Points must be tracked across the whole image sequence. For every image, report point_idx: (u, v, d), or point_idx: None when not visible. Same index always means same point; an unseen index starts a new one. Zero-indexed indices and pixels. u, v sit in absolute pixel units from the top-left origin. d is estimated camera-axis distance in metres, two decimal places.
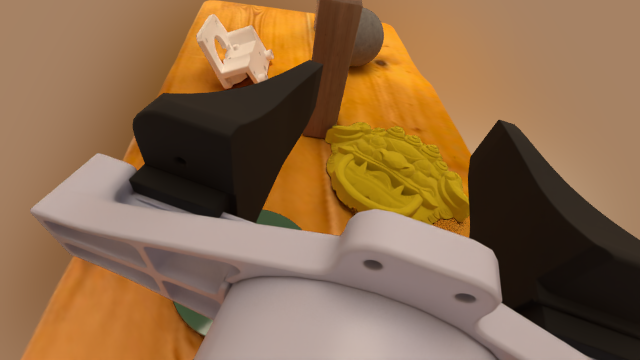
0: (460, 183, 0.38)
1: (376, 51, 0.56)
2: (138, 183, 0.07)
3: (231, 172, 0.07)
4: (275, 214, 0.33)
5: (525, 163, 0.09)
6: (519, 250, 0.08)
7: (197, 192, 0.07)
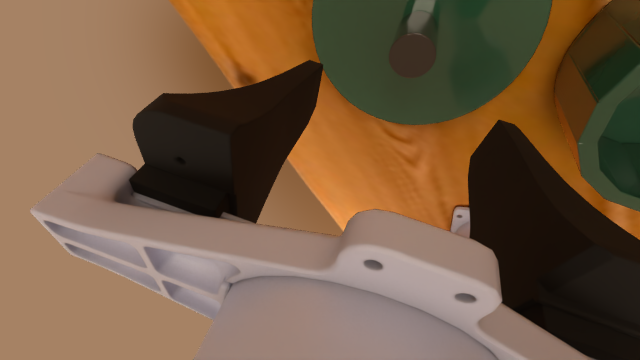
0: None
1: None
2: (138, 183, 0.07)
3: (231, 172, 0.07)
4: None
5: (525, 163, 0.09)
6: (519, 250, 0.08)
7: (197, 192, 0.07)
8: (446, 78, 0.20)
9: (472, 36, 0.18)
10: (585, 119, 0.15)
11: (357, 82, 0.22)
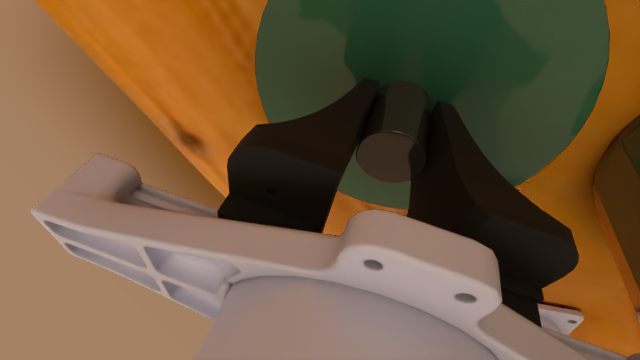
0: None
1: None
2: (226, 215, 0.07)
3: (328, 206, 0.07)
4: None
5: (449, 138, 0.09)
6: (433, 220, 0.08)
7: (286, 224, 0.07)
8: None
9: (480, 116, 0.12)
10: None
11: None
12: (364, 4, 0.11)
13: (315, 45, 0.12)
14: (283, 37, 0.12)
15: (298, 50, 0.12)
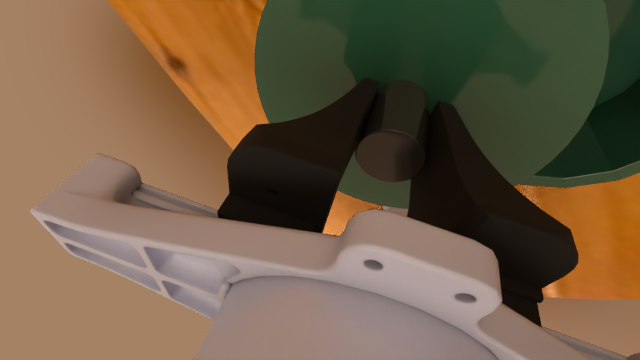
0: None
1: None
2: (226, 215, 0.07)
3: (328, 206, 0.07)
4: None
5: (449, 138, 0.09)
6: (433, 220, 0.08)
7: (286, 224, 0.07)
8: None
9: (479, 115, 0.12)
10: None
11: None
12: (363, 3, 0.11)
13: (315, 44, 0.12)
14: (282, 37, 0.12)
15: (297, 49, 0.12)
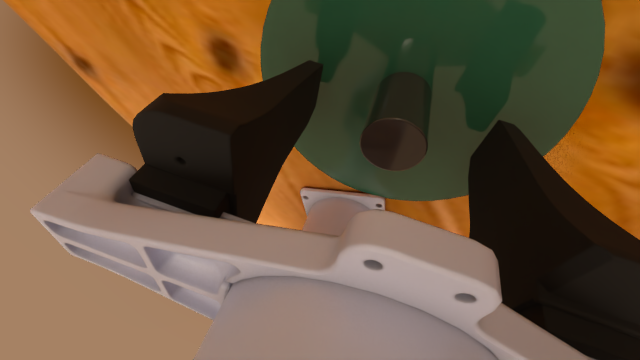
0: None
1: None
2: (138, 183, 0.07)
3: (231, 172, 0.07)
4: None
5: (525, 163, 0.09)
6: (519, 250, 0.08)
7: (197, 192, 0.07)
8: (443, 153, 0.15)
9: (480, 106, 0.13)
10: None
11: (327, 149, 0.17)
12: None
13: (320, 37, 0.12)
14: (288, 30, 0.13)
15: (303, 42, 0.13)
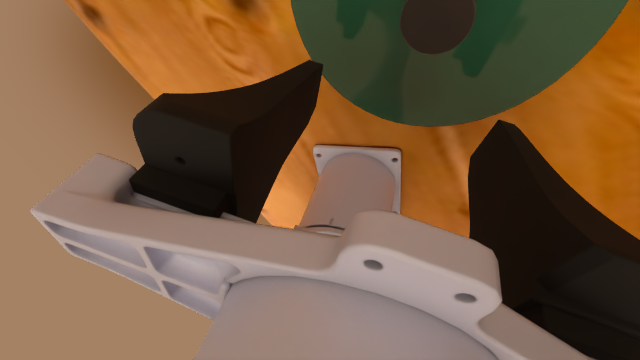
0: None
1: None
2: (138, 183, 0.07)
3: (231, 172, 0.07)
4: None
5: (525, 163, 0.09)
6: (519, 250, 0.08)
7: (197, 192, 0.07)
8: (478, 60, 0.14)
9: None
10: None
11: (353, 68, 0.16)
12: None
13: None
14: None
15: None
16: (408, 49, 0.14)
